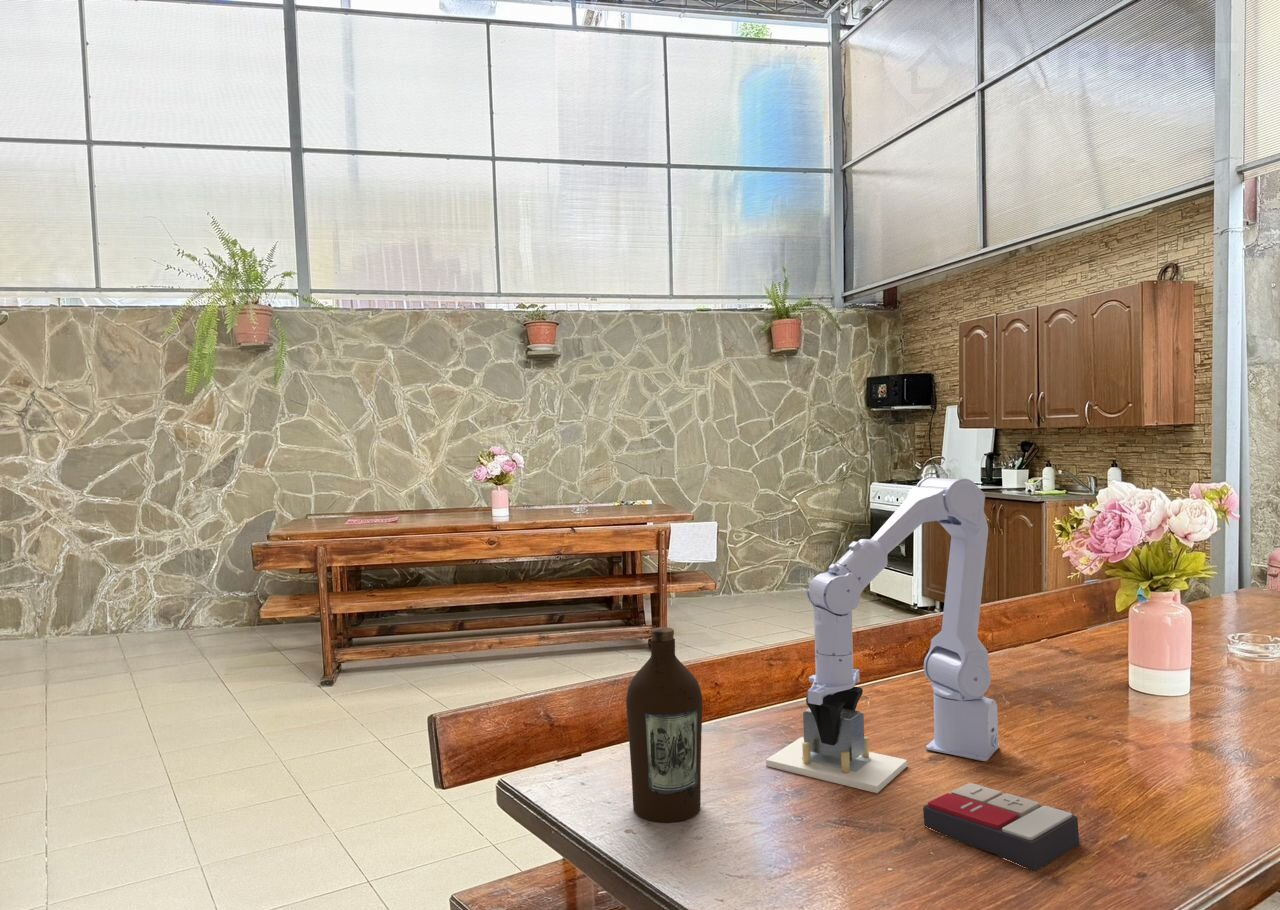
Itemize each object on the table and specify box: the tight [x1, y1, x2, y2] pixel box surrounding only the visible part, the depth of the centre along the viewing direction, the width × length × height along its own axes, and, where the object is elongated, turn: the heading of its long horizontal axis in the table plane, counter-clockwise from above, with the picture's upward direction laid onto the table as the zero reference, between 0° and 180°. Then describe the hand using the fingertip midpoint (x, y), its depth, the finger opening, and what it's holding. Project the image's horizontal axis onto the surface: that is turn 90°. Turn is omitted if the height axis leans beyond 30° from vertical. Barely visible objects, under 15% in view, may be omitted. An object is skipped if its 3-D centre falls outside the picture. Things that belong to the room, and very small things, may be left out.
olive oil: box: [625, 626, 703, 823], centre depth 117 cm, size 11×11×25 cm
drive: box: [802, 707, 865, 761], centre depth 130 cm, size 8×4×6 cm, turn 51°
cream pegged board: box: [765, 735, 908, 794], centre depth 130 cm, size 18×12×4 cm, turn 52°
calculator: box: [922, 782, 1080, 872], centre depth 107 cm, size 11×4×15 cm
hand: (835, 738), depth 130 cm, fingers closed on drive, 5 cm apart
